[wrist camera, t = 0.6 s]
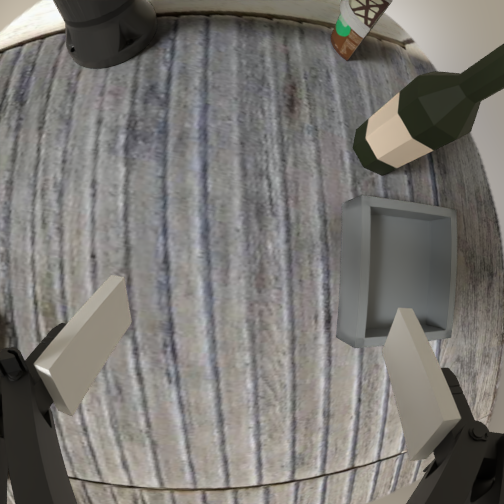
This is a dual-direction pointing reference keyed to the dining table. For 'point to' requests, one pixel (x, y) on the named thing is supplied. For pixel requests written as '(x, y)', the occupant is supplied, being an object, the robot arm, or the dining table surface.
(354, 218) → the tote
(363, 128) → the wine bottle
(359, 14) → the food container
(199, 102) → the dining table surface
